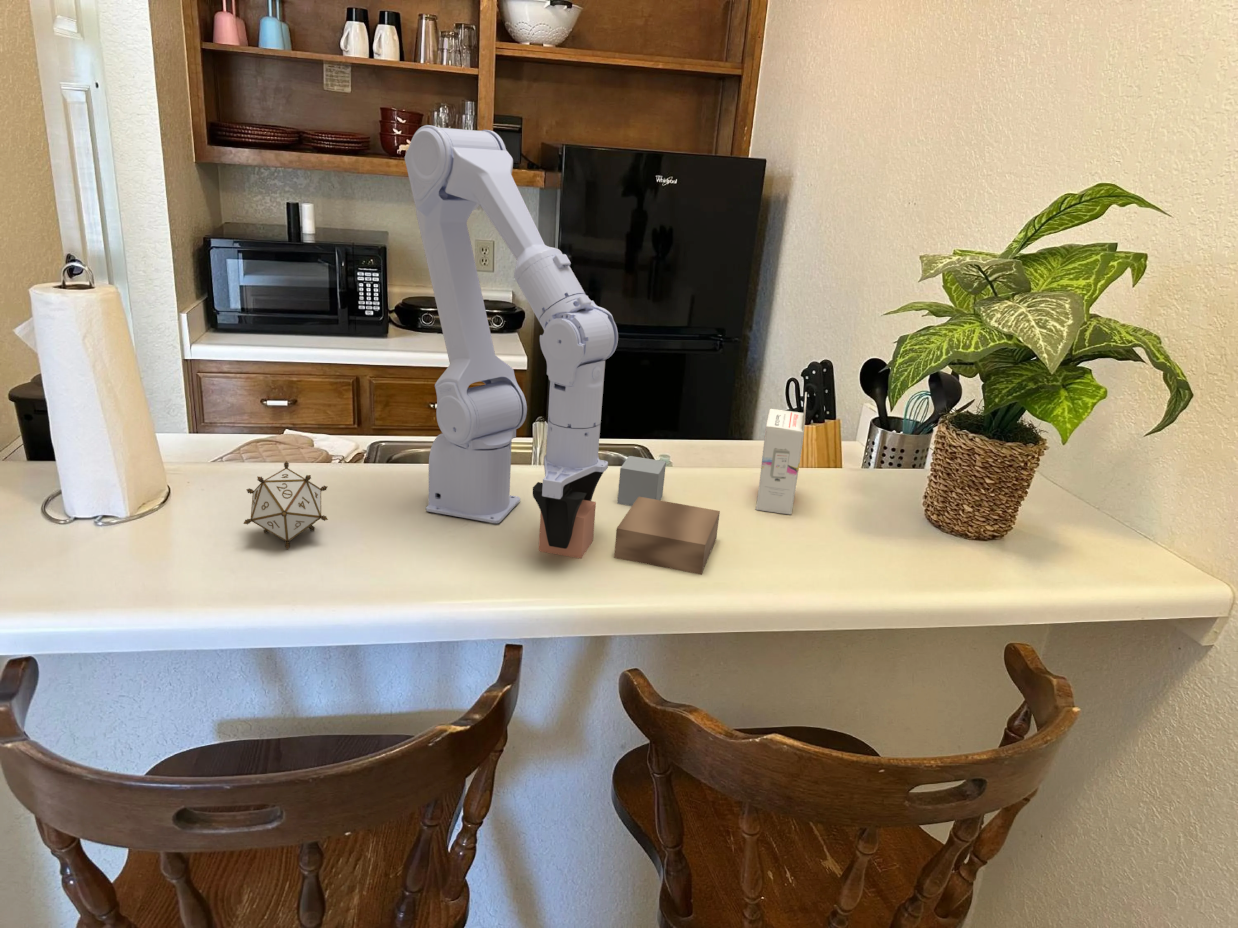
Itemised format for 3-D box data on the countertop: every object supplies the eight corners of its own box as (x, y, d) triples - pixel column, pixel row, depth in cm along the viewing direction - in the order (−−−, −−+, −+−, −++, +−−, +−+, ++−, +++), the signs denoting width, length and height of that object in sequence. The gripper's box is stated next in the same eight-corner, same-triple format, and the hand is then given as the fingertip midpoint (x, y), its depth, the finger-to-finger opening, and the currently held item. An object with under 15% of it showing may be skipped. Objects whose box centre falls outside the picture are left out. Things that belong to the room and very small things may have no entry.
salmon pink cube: (538, 551, 98) (540, 510, 97) (552, 534, 103) (554, 494, 101) (581, 559, 97) (584, 518, 96) (593, 541, 102) (595, 501, 100)
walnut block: (613, 560, 98) (616, 528, 97) (635, 526, 108) (638, 496, 106) (701, 577, 96) (705, 544, 95) (716, 541, 105) (719, 511, 104)
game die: (309, 567, 98) (357, 511, 94) (237, 563, 92) (285, 502, 88) (288, 506, 103) (332, 450, 99) (218, 497, 96) (262, 437, 92)
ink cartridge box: (757, 487, 122) (772, 386, 117) (793, 492, 122) (809, 390, 116) (753, 510, 114) (769, 402, 109) (791, 516, 114) (809, 407, 109)
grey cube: (617, 504, 113) (620, 468, 111) (626, 490, 118) (629, 455, 116) (655, 510, 112) (658, 474, 110) (662, 496, 117) (666, 461, 115)
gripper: (592, 446, 88) (583, 567, 92) (625, 408, 101) (616, 516, 106) (525, 435, 89) (520, 555, 94) (566, 399, 102) (560, 506, 107)
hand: (567, 534), depth 100 cm, fingers open, 6 cm apart
